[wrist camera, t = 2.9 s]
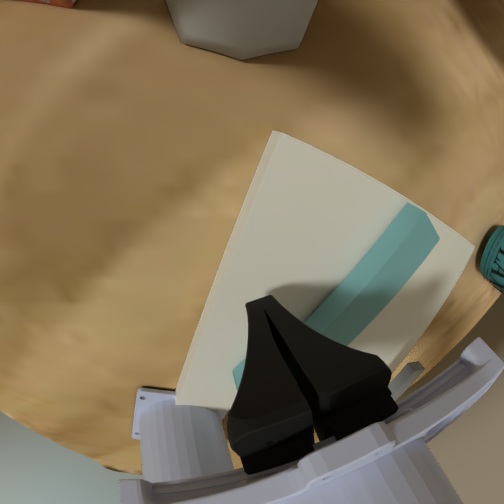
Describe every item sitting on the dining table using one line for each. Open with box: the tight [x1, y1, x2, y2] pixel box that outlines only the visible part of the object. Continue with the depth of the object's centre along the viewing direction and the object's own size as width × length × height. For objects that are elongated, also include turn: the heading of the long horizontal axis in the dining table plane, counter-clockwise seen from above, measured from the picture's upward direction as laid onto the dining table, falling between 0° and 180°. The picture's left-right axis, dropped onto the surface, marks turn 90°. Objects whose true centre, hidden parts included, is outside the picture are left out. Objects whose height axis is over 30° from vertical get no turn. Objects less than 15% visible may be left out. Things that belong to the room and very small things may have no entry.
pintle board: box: [175, 130, 475, 410], centre depth 18 cm, size 20×22×5 cm
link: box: [232, 202, 440, 391], centre depth 17 cm, size 17×6×2 cm, turn 140°
